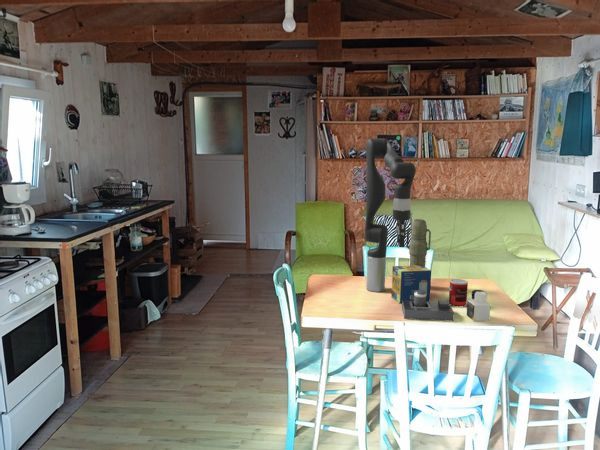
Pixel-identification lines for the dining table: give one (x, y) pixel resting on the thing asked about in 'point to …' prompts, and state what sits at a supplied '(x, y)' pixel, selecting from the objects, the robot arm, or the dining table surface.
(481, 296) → the medicine bottle
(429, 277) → the protein box
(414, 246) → the thermos
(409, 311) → the grey panel
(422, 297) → the grey rounded cylinder
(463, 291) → the canned food
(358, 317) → the dining table surface
